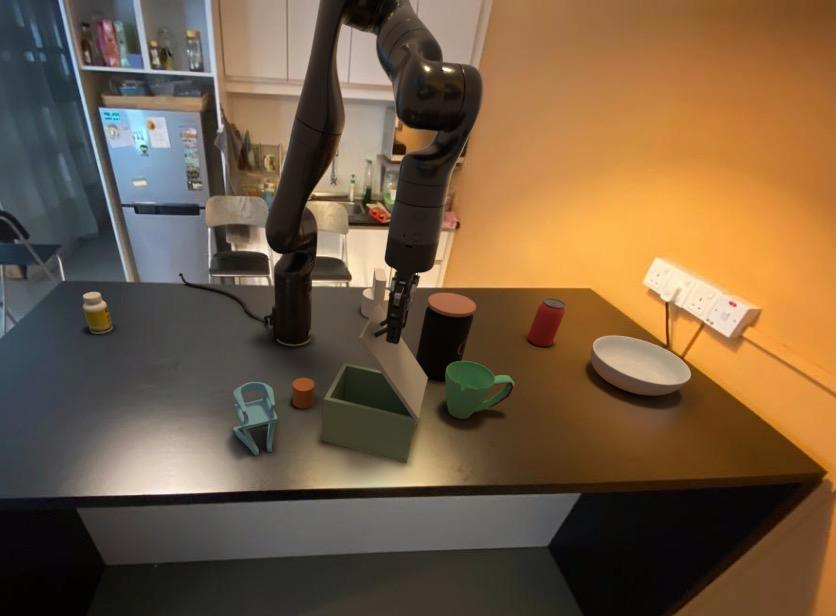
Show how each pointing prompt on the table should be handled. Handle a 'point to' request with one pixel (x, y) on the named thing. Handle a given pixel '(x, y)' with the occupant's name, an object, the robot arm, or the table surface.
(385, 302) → the base with upright slab
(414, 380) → the box lid
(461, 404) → the mug
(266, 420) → the chair
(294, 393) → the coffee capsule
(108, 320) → the supplement bottle
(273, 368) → the table surface
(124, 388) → the table surface
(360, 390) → the pale green hollow box
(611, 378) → the serving bowl
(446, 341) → the coffee jar
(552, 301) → the beer can
